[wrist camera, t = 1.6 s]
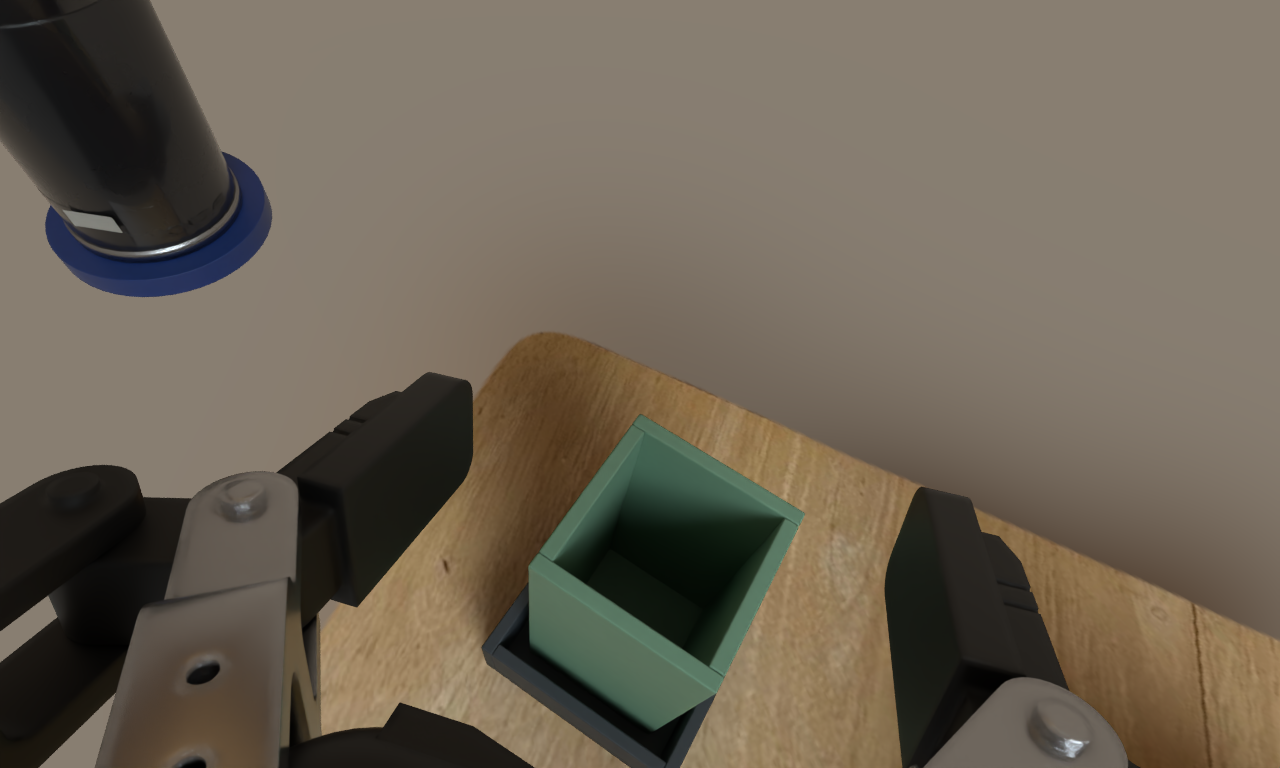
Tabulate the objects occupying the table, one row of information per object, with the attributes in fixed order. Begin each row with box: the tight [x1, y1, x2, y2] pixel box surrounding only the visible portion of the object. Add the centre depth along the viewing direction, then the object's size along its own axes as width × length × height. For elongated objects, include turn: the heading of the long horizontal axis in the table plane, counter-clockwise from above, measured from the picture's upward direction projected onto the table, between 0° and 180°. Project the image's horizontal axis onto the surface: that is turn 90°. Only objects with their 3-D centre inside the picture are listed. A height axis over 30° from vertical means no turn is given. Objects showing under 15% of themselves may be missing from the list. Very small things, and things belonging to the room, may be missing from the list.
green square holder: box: [528, 414, 805, 734], centre depth 24 cm, size 6×6×12 cm
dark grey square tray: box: [482, 582, 760, 768], centre depth 28 cm, size 9×9×3 cm
